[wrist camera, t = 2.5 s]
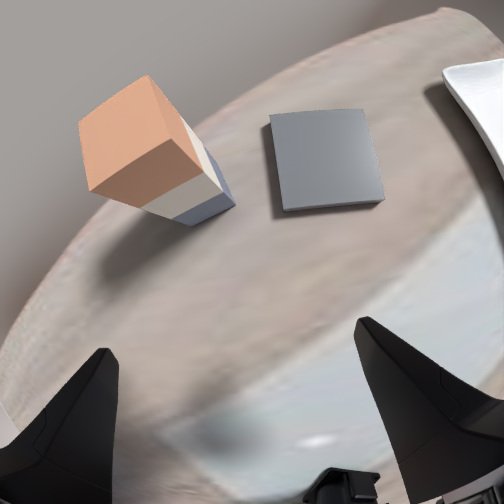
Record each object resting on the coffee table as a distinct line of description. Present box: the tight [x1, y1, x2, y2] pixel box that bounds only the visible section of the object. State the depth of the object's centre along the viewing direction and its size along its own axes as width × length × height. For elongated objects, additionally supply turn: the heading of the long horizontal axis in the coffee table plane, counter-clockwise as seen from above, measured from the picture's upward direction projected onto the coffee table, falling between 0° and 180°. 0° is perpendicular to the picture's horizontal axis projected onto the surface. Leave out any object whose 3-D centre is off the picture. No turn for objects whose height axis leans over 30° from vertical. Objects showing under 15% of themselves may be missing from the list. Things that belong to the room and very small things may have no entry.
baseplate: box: [269, 109, 385, 212], centre depth 20 cm, size 8×8×1 cm
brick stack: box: [78, 75, 236, 227], centre depth 16 cm, size 4×4×13 cm
